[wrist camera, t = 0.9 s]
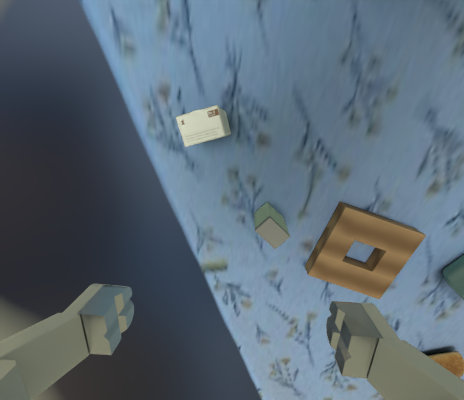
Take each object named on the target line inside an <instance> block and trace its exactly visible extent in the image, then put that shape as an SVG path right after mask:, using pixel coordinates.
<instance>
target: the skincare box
mask: <svg viewBox="0 0 464 400" xmlns="http://www.w3.org/2000/svg"><path fill="white" fill-rule="evenodd" d="M176 120H177V123H178V126H179V129H180V132H181V135H182V138H183V141H184V145H185V147H187V146H191V145H195V144H198V143H203V142H207V141H211V140H215V139H218V138H222V137H225V136H228V135H231V131H230V127H229V123H228V119H227V114H226V112H225V111H224V110H223V109H221V108H220V107H219V106H218V105H215V106H212V107H208V108H205V109H201V110H196V111H193V112H190V113H187V114H184V115H180V116H177V117H176Z"/></svg>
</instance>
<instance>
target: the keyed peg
mask: <svg viewBox="0 0 464 400" xmlns="http://www.w3.org/2000/svg"><path fill="white" fill-rule="evenodd" d="M254 214H255V231H256V232H257V233H258V234H259V235H260V236H261V237H262V238H263V239H265V240H266V241H267V242H268V243H269V244H270V245H271V246H272V247H273V248H274V249H276V248H277V247H278V246H279V245H281V244H282V243H283V242H284V241H286V240H287V239H288V238H289V237H290V235H289V232H288V229H287V226H286V223H285V220H284V218H283V217H282V216H281V215H280V214H279V213H278V212H277V211H276V210H275V209H274V208H273V207H272V206H271V205H270V204H269V203H268V202H266V203H265V204H264V205H263V206H262V207H261V208H260V209H258V210H257V211H256V212H255V213H254Z"/></svg>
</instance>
